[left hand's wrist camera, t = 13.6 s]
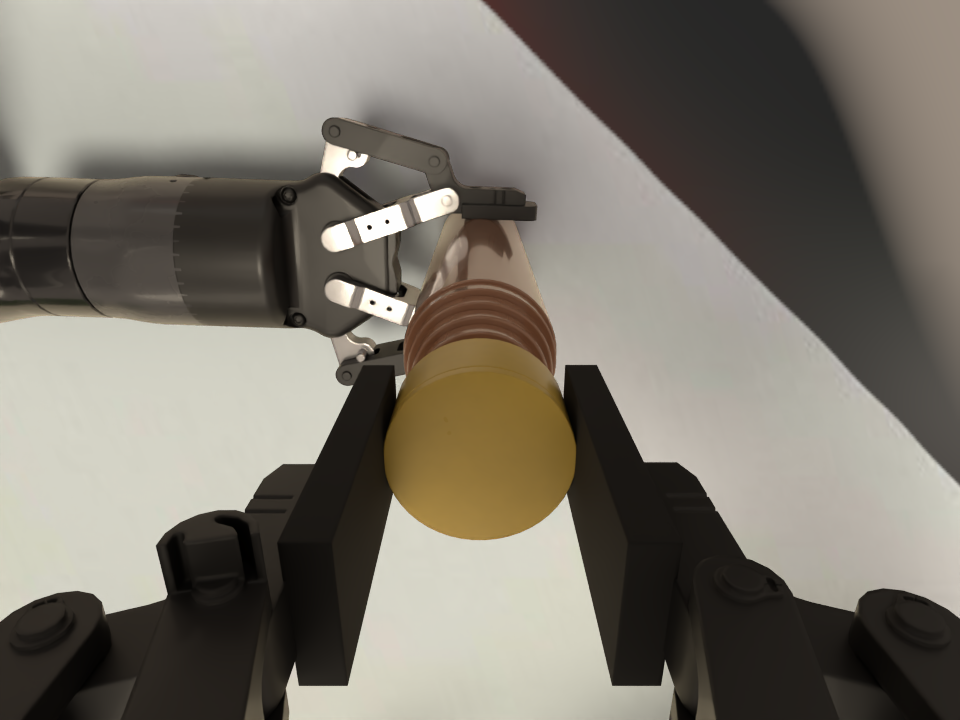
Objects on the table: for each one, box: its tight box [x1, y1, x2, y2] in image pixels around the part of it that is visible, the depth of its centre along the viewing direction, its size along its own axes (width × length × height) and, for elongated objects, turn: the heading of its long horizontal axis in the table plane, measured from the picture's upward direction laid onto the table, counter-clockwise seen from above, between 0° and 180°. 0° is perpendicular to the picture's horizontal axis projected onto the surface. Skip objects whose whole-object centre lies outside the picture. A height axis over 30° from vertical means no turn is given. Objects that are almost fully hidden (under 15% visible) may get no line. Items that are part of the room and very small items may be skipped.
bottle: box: [403, 214, 556, 376], centre depth 25 cm, size 5×5×26 cm
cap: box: [384, 338, 576, 540], centre depth 14 cm, size 4×4×2 cm
